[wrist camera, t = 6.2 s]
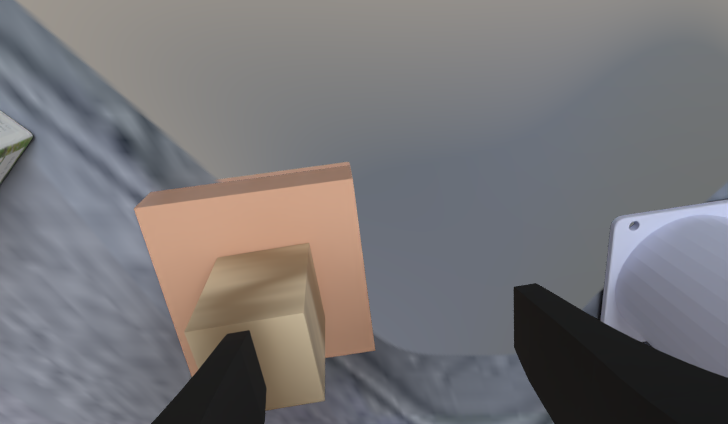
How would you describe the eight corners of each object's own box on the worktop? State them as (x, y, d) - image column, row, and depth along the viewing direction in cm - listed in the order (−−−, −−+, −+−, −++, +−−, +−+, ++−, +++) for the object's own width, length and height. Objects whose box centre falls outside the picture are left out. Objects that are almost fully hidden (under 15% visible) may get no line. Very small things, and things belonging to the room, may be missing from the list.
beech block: (309, 242, 19) (303, 312, 15) (325, 317, 21) (324, 400, 17) (217, 257, 19) (184, 332, 15) (240, 331, 21) (217, 418, 17)
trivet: (349, 161, 21) (352, 178, 19) (370, 319, 24) (375, 350, 22) (155, 188, 21) (134, 208, 18) (204, 344, 24) (192, 377, 22)
